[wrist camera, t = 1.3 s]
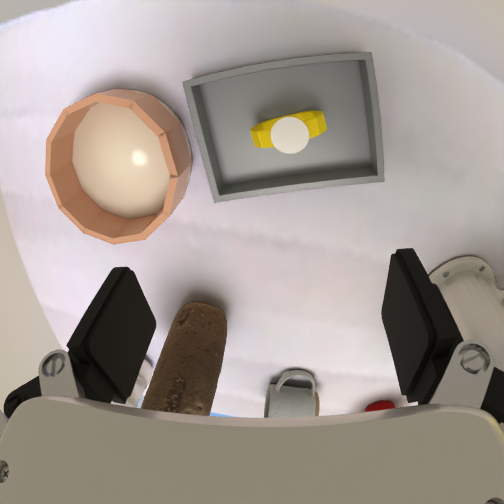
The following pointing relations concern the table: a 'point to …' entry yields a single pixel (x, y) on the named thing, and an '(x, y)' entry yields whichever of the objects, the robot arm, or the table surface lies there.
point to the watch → (289, 131)
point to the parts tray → (281, 104)
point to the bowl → (118, 164)
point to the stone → (189, 362)
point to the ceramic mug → (291, 398)
